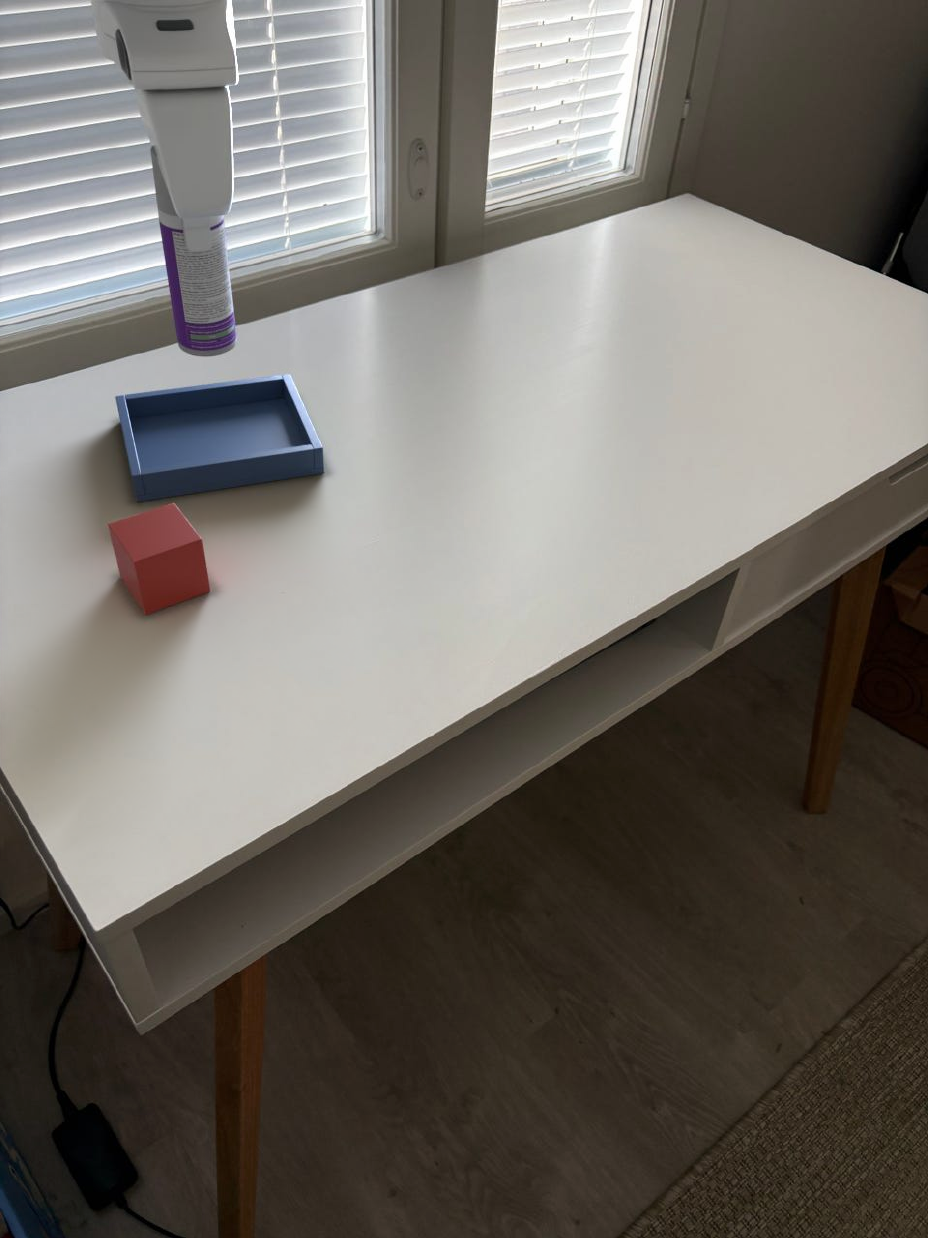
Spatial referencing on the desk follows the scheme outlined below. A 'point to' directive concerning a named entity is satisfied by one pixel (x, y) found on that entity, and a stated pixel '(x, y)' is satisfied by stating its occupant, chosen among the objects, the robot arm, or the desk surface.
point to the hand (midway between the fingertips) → (192, 231)
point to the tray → (217, 436)
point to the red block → (159, 558)
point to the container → (196, 280)
